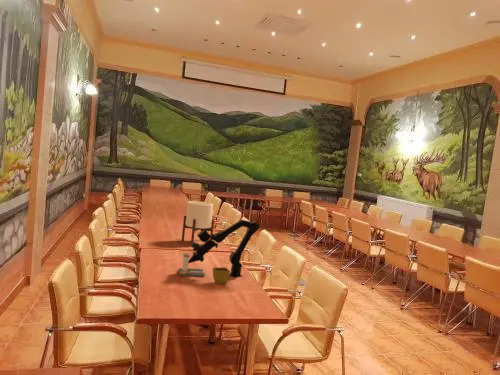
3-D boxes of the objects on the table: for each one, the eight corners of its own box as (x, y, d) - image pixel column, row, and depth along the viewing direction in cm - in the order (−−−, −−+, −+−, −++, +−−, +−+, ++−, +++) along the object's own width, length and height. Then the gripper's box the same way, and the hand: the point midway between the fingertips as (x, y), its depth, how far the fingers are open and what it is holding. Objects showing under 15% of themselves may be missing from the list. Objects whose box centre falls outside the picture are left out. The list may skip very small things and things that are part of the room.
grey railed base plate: (202, 271, 286) (202, 267, 286) (204, 276, 275) (204, 273, 274) (178, 270, 282) (178, 266, 282) (179, 275, 271) (179, 272, 271)
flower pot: (211, 281, 267) (212, 267, 266) (224, 280, 270) (225, 267, 270) (215, 285, 259) (217, 271, 258) (228, 285, 262) (230, 271, 262)
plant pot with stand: (213, 245, 373) (217, 205, 371) (190, 246, 360) (194, 204, 358) (201, 239, 392) (205, 201, 389) (179, 240, 379) (183, 200, 376)
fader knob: (186, 269, 281) (188, 253, 280) (187, 272, 275) (189, 255, 274) (181, 269, 280) (183, 253, 279) (182, 272, 274) (184, 255, 273)
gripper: (197, 235, 287) (179, 250, 285) (200, 241, 269) (181, 257, 267) (207, 247, 289) (189, 262, 287) (211, 254, 271) (192, 270, 269)
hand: (188, 262), depth 277 cm, fingers closed, pressing on fader knob
